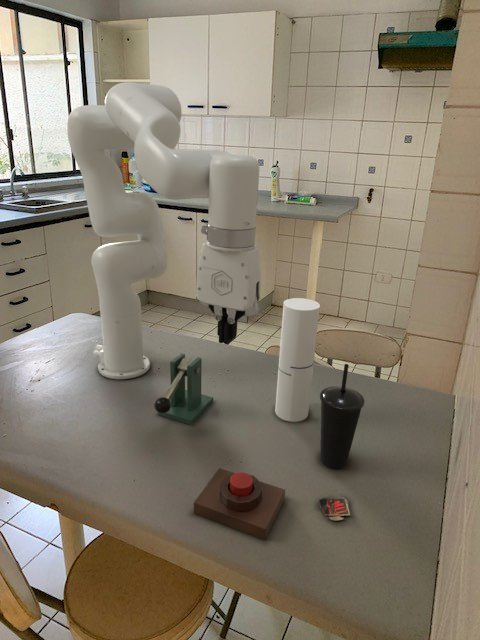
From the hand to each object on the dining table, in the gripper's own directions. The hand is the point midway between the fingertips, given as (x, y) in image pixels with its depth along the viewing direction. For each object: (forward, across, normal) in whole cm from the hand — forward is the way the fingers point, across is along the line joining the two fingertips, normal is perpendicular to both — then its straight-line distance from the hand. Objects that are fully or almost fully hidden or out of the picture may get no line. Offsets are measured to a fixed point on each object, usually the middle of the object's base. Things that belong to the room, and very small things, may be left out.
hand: (226, 340), depth 81 cm
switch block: (+22, +10, -13) cm, 27 cm away
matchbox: (+22, +24, -7) cm, 33 cm away
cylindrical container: (+22, +8, +17) cm, 29 cm away
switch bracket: (+22, -12, +8) cm, 27 cm away
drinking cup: (+22, +21, +5) cm, 30 cm away
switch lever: (+16, -13, +4) cm, 21 cm away
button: (+18, +10, -13) cm, 24 cm away
